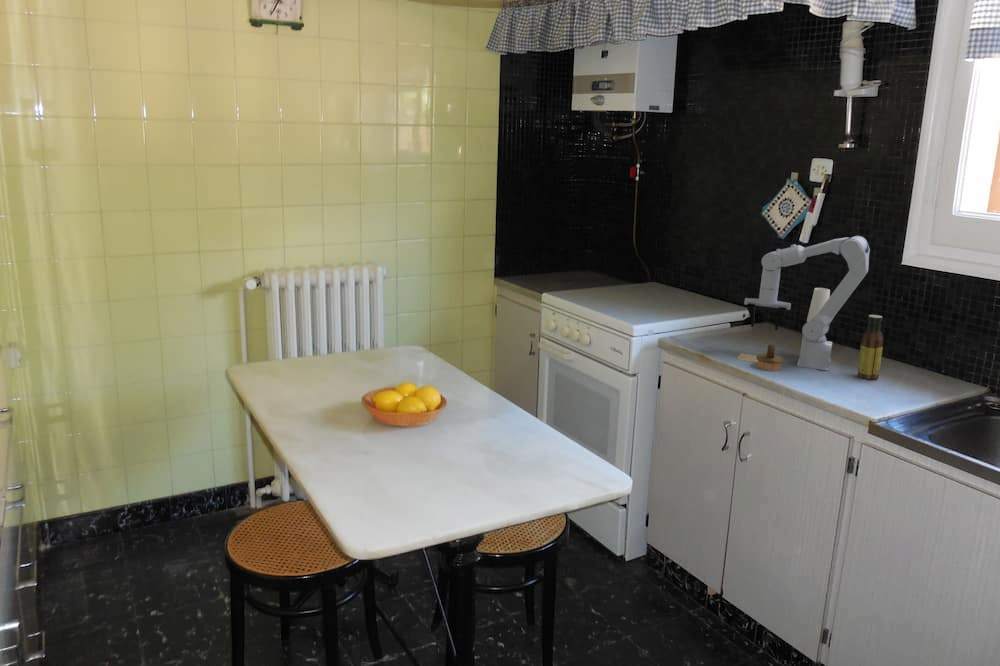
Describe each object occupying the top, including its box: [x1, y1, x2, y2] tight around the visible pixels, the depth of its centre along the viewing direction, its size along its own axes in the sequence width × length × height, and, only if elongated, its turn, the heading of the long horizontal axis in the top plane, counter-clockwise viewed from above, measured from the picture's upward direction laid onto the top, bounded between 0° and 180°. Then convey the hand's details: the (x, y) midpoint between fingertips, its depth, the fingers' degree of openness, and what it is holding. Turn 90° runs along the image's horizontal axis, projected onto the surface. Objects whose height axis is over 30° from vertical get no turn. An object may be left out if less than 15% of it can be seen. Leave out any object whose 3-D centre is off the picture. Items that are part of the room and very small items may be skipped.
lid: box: [756, 344, 785, 364], centre depth 254 cm, size 8×8×5 cm
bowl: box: [756, 360, 782, 372], centre depth 255 cm, size 7×7×3 cm
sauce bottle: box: [857, 314, 884, 381], centre depth 248 cm, size 6×6×20 cm
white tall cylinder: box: [806, 287, 831, 323], centre depth 265 cm, size 7×7×24 cm
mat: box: [736, 352, 758, 363], centre depth 265 cm, size 9×8×1 cm
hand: (764, 327), depth 267 cm, fingers open, 7 cm apart
